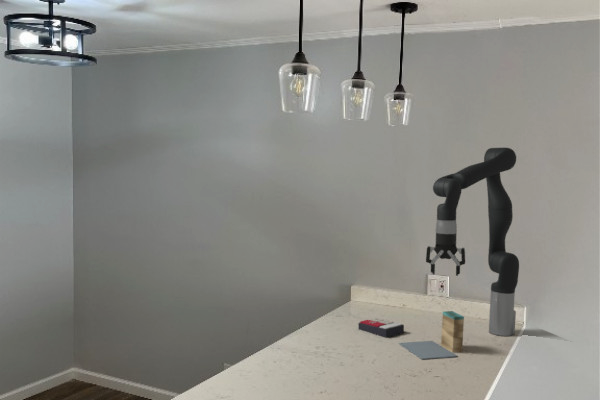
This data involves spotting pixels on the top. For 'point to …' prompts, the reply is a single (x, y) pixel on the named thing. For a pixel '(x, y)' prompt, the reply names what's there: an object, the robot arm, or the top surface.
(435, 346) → the mat
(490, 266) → the robot arm
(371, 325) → the calculator
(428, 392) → the top surface
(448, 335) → the block
